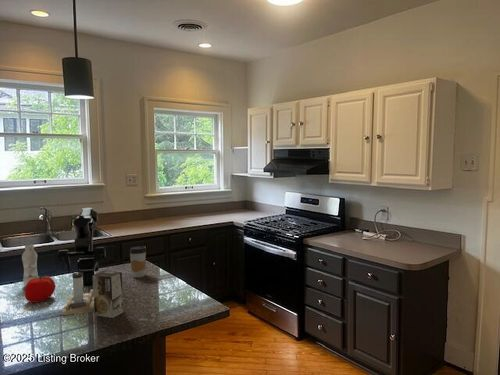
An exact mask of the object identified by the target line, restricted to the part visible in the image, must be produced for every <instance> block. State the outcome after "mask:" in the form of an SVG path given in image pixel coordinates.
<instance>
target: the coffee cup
mask: <svg viewBox="0 0 500 375" xmlns="http://www.w3.org/2000/svg"><path fill="white" fill-rule="evenodd" d="M146 255H147V249H146V246H143V245H138V246H132V247H130V249H129V257H130V267H131V276H132V277H133V278H137V279H138V278H143V277H145V275H146V257H147V256H146Z"/></svg>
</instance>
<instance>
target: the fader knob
mask: <svg viewBox="0 0 500 375" xmlns="http://www.w3.org/2000/svg"><path fill="white" fill-rule="evenodd" d="M71 276H72V288H73V289H72V290H73V291H72V293H73V295H74V300H72V302H71V307H78V306H85V305H86V299H84V297H83V294H84V285H83V272H78V271H75V272H73V273H72V275H71Z"/></svg>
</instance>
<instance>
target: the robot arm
mask: <svg viewBox="0 0 500 375" xmlns="http://www.w3.org/2000/svg"><path fill="white" fill-rule="evenodd" d="M98 222H99V216H98V212H97V211H95V210H94V208H92V207H84V208H81V211H80V213H79V215H78V216H77V217H76V218H75V219H74V221H73V224H72V225H73V228H74V230H75V232H74V233H75V235H76V237H75V239H74V242H73V243H74V244H73V247H74V248H73V249H74V252H73V251H70V252H69V249H60V250H58V251H57V254H56V255H57V260H58V262H60V263H61V264H65V266H66V268H67V271H68V274H71V261H70V258H75V257H79V258H78V260H77V262H76V263H77V264H76V265H77V272H83V287H87V286H91V285H92V286H93V275H95V274H96V273H95V272H98V271H99V270H100V268H99V263H100V261H102V260H103V259H106V257H107V256H106V255H107V252H106V248H105V247H104V246H98V247H95V249H94V250H93V247H94V246H93V245H94V244H93V242H94V238H93V237H94V230H95V228H96V227H97V223H98Z"/></svg>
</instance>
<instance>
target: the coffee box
mask: <svg viewBox="0 0 500 375" xmlns="http://www.w3.org/2000/svg"><path fill="white" fill-rule="evenodd" d="M122 273H123V272H122V271H112V270H111V271H110V270H102V271H99V272H97V273H95V275H93V284H92V287H93V293H94V309H93V312H94V317H95V316H96V317H103V318H109V319H111V318H112V319H113V318H116V317H118V316H119V315H121V314H123V313H124V296H123V276H122V275H123V274H122Z"/></svg>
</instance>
